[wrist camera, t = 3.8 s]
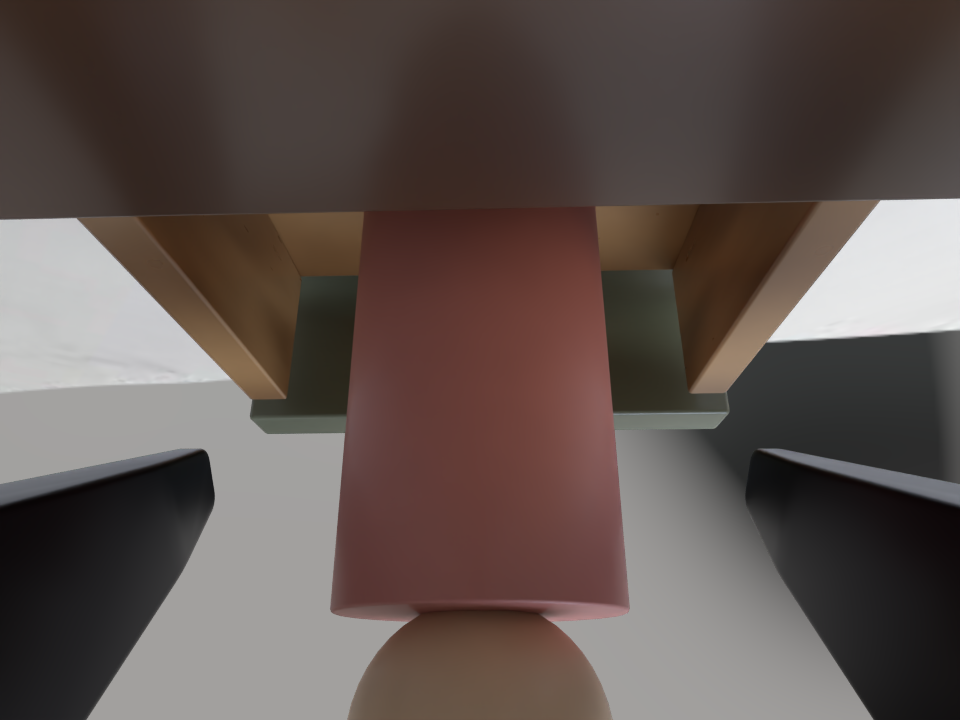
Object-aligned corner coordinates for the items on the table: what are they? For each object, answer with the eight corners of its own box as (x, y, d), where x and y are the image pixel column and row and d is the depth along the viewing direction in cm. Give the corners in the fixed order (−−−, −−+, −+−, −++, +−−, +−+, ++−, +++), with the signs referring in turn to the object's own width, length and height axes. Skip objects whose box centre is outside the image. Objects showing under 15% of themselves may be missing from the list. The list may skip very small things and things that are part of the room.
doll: (327, 182, 13) (241, 942, 8) (462, 43, 10) (447, 1093, 5) (490, 258, 15) (496, 880, 10) (637, 163, 12) (734, 958, 8)
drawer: (683, 305, 19) (702, 445, 17) (297, 312, 19) (280, 449, 18) (1011, -360, 7) (1185, -98, 5) (-72, -307, 7) (-243, -46, 5)
